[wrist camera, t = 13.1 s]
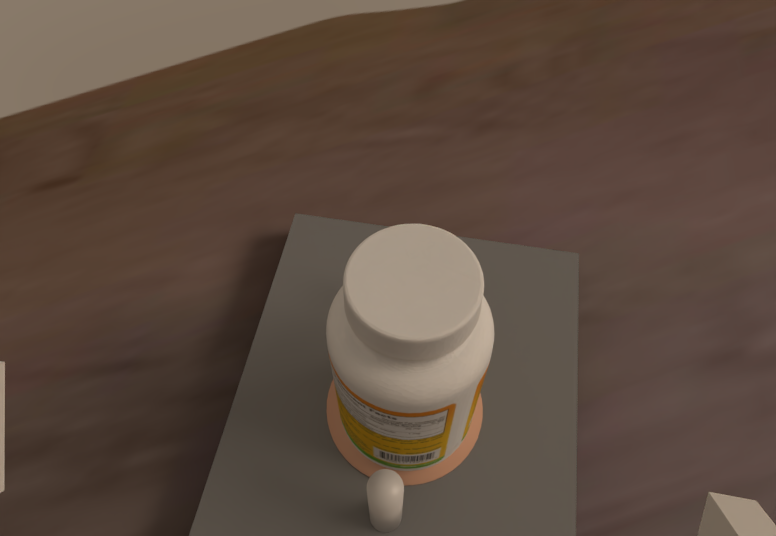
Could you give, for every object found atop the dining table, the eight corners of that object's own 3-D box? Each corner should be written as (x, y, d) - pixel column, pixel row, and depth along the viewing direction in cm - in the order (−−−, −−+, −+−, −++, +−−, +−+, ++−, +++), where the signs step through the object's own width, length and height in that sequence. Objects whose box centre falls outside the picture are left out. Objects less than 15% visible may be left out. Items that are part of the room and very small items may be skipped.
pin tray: (570, 271, 31) (603, 199, 26) (562, 704, 21) (611, 710, 17) (299, 232, 32) (284, 157, 28) (175, 621, 23) (119, 606, 18)
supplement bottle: (411, 325, 28) (421, 175, 20) (499, 415, 25) (551, 287, 17) (313, 399, 26) (278, 267, 18) (398, 504, 23) (403, 406, 15)
